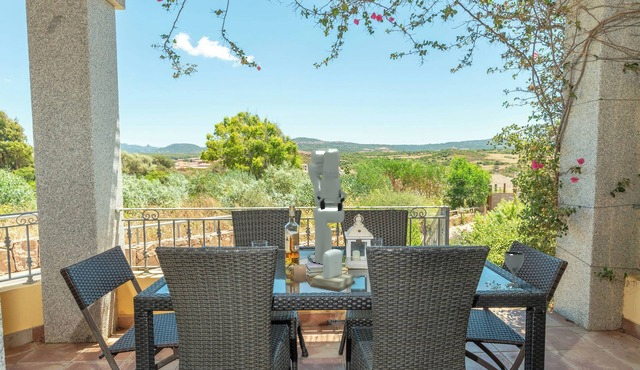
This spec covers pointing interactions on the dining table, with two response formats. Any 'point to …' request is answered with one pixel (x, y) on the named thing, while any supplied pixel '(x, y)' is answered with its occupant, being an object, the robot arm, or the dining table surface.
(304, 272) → the tan short cylinder
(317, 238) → the robot arm
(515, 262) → the wine glass
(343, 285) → the beige ridged block
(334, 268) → the grey rounded block
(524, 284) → the dining table surface
